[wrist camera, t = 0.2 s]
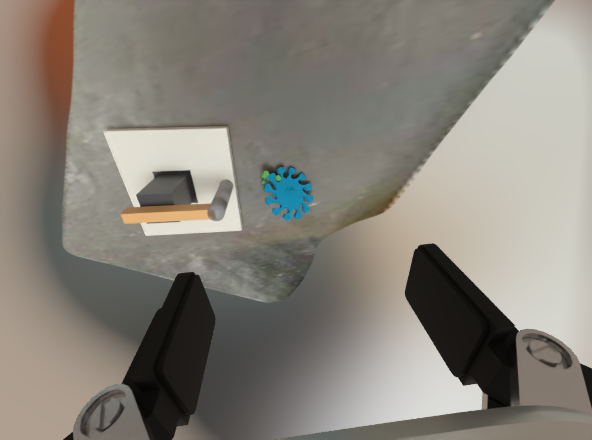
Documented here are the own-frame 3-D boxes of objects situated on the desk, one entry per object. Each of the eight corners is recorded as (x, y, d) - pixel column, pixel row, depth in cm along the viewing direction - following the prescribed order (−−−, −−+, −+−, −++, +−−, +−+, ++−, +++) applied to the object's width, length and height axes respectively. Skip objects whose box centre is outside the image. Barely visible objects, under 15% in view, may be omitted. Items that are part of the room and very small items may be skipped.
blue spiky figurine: (323, 191, 47) (297, 231, 43) (306, 198, 52) (282, 233, 48) (282, 150, 43) (250, 188, 39) (269, 161, 49) (239, 196, 44)
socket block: (110, 128, 39) (70, 142, 31) (228, 125, 41) (218, 138, 33) (150, 230, 50) (127, 259, 42) (242, 225, 51) (237, 252, 43)
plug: (162, 171, 44) (135, 194, 35) (190, 170, 44) (171, 193, 35) (169, 196, 46) (147, 223, 38) (196, 194, 47) (179, 221, 38)
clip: (129, 201, 36) (119, 211, 34) (225, 197, 37) (222, 206, 35) (135, 215, 37) (125, 226, 35) (228, 211, 38) (225, 220, 36)
